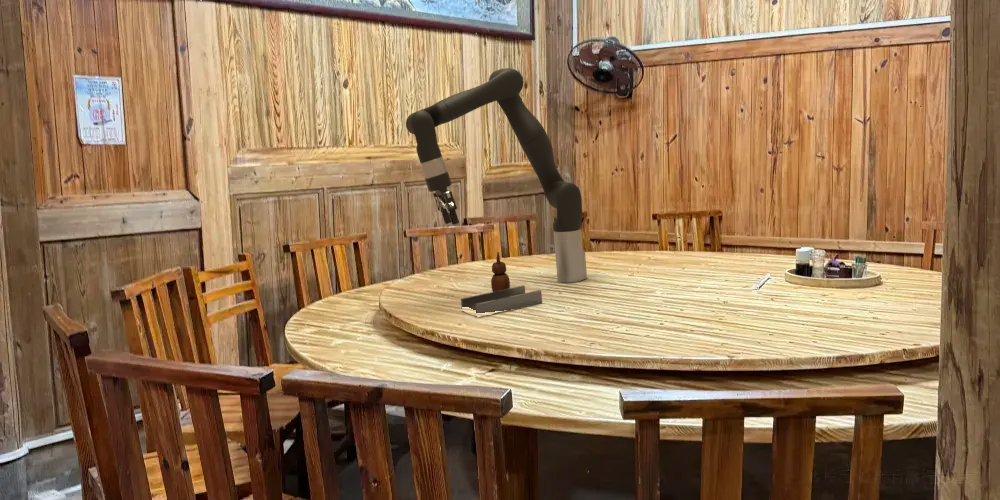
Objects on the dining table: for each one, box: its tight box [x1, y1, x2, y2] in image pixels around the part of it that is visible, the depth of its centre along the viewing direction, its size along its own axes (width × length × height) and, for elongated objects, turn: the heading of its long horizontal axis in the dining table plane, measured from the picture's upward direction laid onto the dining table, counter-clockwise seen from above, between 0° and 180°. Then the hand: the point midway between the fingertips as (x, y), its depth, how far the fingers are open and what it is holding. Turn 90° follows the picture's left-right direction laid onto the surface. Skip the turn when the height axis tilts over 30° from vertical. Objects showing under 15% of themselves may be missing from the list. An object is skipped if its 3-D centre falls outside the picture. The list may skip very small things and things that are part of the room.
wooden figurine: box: [490, 251, 511, 292], centre depth 268 cm, size 7×6×15 cm
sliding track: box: [460, 285, 543, 313], centre depth 255 cm, size 22×11×4 cm, turn 118°
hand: (452, 223), depth 262 cm, fingers open, 8 cm apart
